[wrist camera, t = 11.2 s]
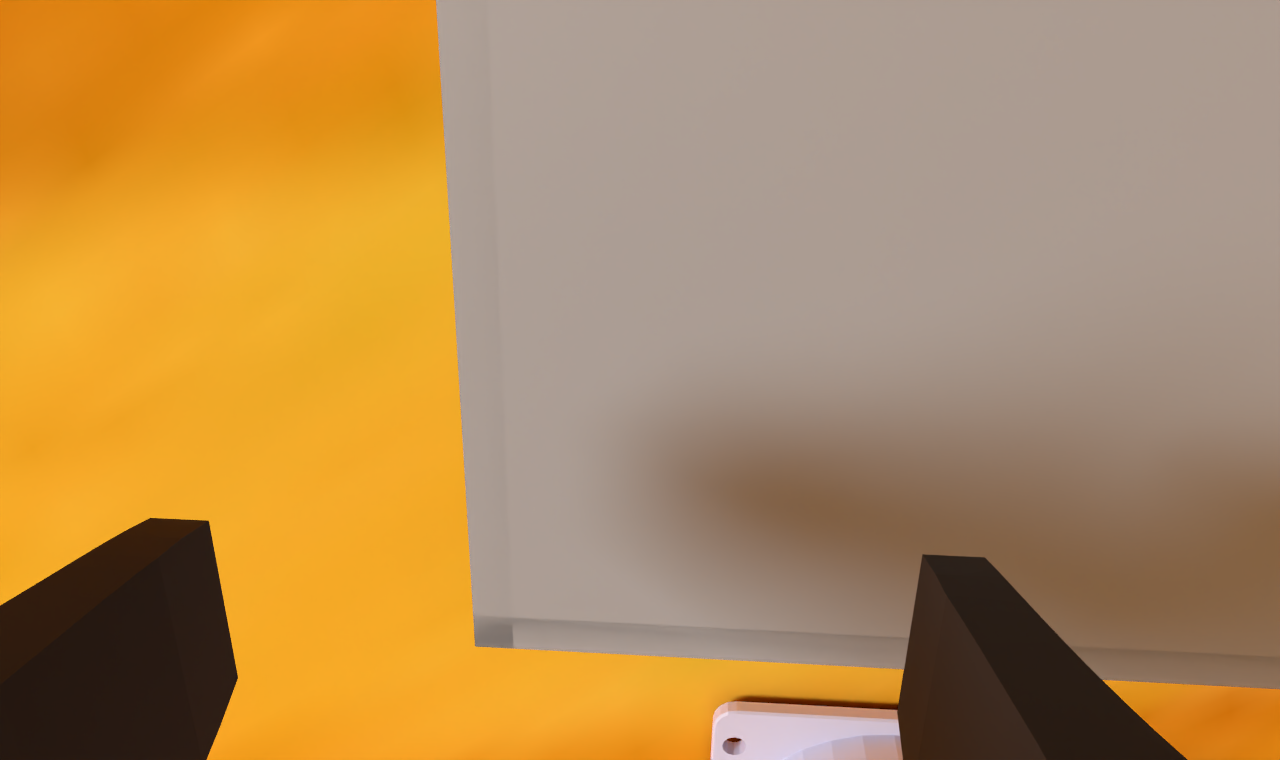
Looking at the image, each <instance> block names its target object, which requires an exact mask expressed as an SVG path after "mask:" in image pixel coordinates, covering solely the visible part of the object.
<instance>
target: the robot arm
mask: <svg viewBox="0 0 1280 760" xmlns="http://www.w3.org/2000/svg"><path fill="white" fill-rule="evenodd" d="M237 679H238V676H237V670H236V665H235V659H234V654H233V649H232V643H231V638H230V633H229V627H228V622H227V617H226V611H225V606H224V601H223V595H222V590H221V584H220V579H219V574H218V568H217V563H216V558H215V552H214V547H213V542H212V536H211V531H210V525H209V521H202V520H181V519H159V518H150V519H148V520H146V521H144V522H142V523H140V524H138V525H136V526H134V527H132V528H130V529H128V530H126V531H124V532H123V533H121V534H119V535H117V536H116V537H114V538H112V539H110V540H109V541H107V542H105V543H103V544H102V545H100V546H98V547H97V548H95V549H93V550H92V551H90V552H88V553H87V554H85V555H83V556H82V557H80V558H78V559H77V560H75V561H73V562H72V563H70V564H68V565H67V566H65V567H63V568H62V569H60V570H59V571H57V572H55V573H54V574H52V575H50V576H49V577H47V578H45V579H44V580H42V581H40V582H39V583H37V584H35V585H34V586H32V587H31V588H29V589H27V590H26V591H24V592H22V593H21V594H19V595H17V596H16V597H14V598H12V599H11V600H9V601H7V602H6V603H4V604H2V605H1V606H0V760H206V759H207V757H208V754H209V752H210V749H211V747H212V745H213V742H214V740H215V737H216V735H217V732H218V730H219V727H220V725H221V722H222V719H223V717H224V714H225V711H226V709H227V706H228V703H229V700H230V698H231V695H232V692H233V690H234V687H235V684H236V682H237ZM733 737H736V738H740V739H742V740H741V741H739V742H730V741H727V739H728V738H733ZM710 760H1187V759H1186V758H1185V757H1184V756H1183V755H1182V754H1180V753H1179V752H1178V751H1177V750H1176V749H1175V748H1174V747H1173V746H1171V745H1170V744H1169V743H1168V742H1167V741H1166V740H1165V739H1164V738H1162V737H1161V736H1160V735H1159V734H1158V733H1157V732H1156V731H1155V730H1153V729H1152V728H1151V727H1150V726H1149V725H1148V724H1147V723H1146V722H1145V721H1144V720H1143V719H1142V718H1141V717H1140V716H1139V715H1138V714H1137V713H1135V712H1134V711H1133V710H1132V709H1131V708H1130V707H1129V706H1128V705H1127V704H1126V703H1125V702H1124V701H1123V700H1122V699H1121V698H1120V697H1119V696H1118V695H1117V694H1116V693H1115V692H1114V691H1113V690H1112V689H1111V688H1110V687H1109V686H1107V685H1106V684H1105V683H1104V682H1103V680H1102V679H1101V678H1100V677H1099V676H1098V675H1097V674H1096V673H1095V672H1094V671H1093V670H1092V669H1091V668H1090V667H1089V666H1088V665H1087V664H1086V663H1085V662H1084V661H1083V660H1082V659H1081V658H1080V657H1079V656H1078V655H1077V654H1076V653H1075V652H1074V651H1073V650H1072V649H1071V648H1070V647H1069V646H1068V645H1067V644H1066V643H1065V642H1064V641H1063V640H1062V639H1061V638H1060V637H1059V635H1058V634H1057V633H1056V632H1055V631H1054V630H1053V629H1052V628H1051V627H1050V626H1049V625H1048V624H1047V623H1046V622H1045V621H1044V620H1043V619H1042V618H1041V616H1040V615H1039V614H1038V613H1037V612H1036V611H1035V610H1034V609H1033V608H1032V607H1031V606H1030V605H1029V604H1028V603H1027V601H1026V600H1025V599H1024V598H1023V597H1022V596H1021V595H1020V594H1019V593H1018V592H1017V591H1016V590H1015V589H1014V587H1013V586H1012V585H1011V584H1010V583H1009V582H1008V581H1007V580H1006V579H1005V578H1004V577H1003V576H1002V575H1001V573H1000V572H999V571H998V570H997V569H996V568H995V567H994V566H993V565H992V564H991V563H990V562H989V561H988V560H987V559H986V558H985V557H967V556H946V555H925V554H922V560H921V566H920V573H919V579H918V585H917V592H916V598H915V604H914V610H913V617H912V623H911V629H910V636H909V642H908V648H907V654H906V661H905V667H904V673H903V680H902V686H901V692H900V698H899V705H898V710H887V709H868V708H850V707H832V706H814V705H795V704H777V703H759V702H741V701H734V702H727V703H725V704H722V705H720V706H719V707H718V708H717V709H716V710H715V713H714V716H713V726H712V742H711V759H710Z"/></svg>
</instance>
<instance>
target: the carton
mask: <svg viewBox="0 0 1280 760" xmlns="http://www.w3.org/2000/svg"><path fill="white" fill-rule="evenodd" d="M436 5H437V22H438V38H439V55H440V71H441V88H442V105H443V121H444V138H445V154H446V171H447V187H448V204H449V220H450V237H451V253H452V270H453V286H454V303H455V320H456V336H457V353H458V369H459V386H460V402H461V419H462V435H463V452H464V468H465V485H466V501H467V518H468V535H469V551H470V568H471V584H472V601H473V617H474V634H475V646H478V647H497V648H515V649H534V650H553V651H572V652H591V653H610V654H628V655H647V656H666V657H685V658H704V659H723V660H741V661H760V662H779V663H798V664H817V665H836V666H855V667H873V668H892V669H904V667H905V661H906V654H907V648H908V642H909V636H910V629H911V623H912V617H913V610H914V604H915V598H916V592H917V585H918V579H919V573H920V566H921V560H922V554H925V555H946V556H967V557H985V558H986V559H987V560H988V561H989V562H990V563H991V564H992V565H993V566H994V567H995V568H996V569H997V570H998V571H999V572H1000V573H1001V575H1002V576H1003V577H1004V578H1005V579H1006V580H1007V581H1008V582H1009V583H1010V584H1011V585H1012V586H1013V587H1014V589H1015V590H1016V591H1017V592H1018V593H1019V594H1020V595H1021V596H1022V597H1023V598H1024V599H1025V600H1026V601H1027V603H1028V604H1029V605H1030V606H1031V607H1032V608H1033V609H1034V610H1035V611H1036V612H1037V613H1038V614H1039V615H1040V616H1041V618H1042V619H1043V620H1044V621H1045V622H1046V623H1047V624H1048V625H1049V626H1050V627H1051V628H1052V629H1053V630H1054V631H1055V632H1056V633H1057V634H1058V635H1059V637H1060V638H1061V639H1062V640H1063V641H1064V642H1065V643H1066V644H1067V645H1068V646H1069V647H1070V648H1071V649H1072V650H1073V651H1074V652H1075V653H1076V654H1077V655H1078V656H1079V657H1080V658H1081V659H1082V660H1083V661H1084V662H1085V663H1086V664H1087V665H1088V666H1089V667H1090V668H1091V669H1092V670H1093V671H1094V672H1095V673H1096V674H1097V675H1098V676H1099V677H1100V678H1101V679H1102V680H1118V681H1137V682H1156V683H1175V684H1194V685H1212V686H1231V687H1250V688H1269V689H1280V0H436Z"/></svg>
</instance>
